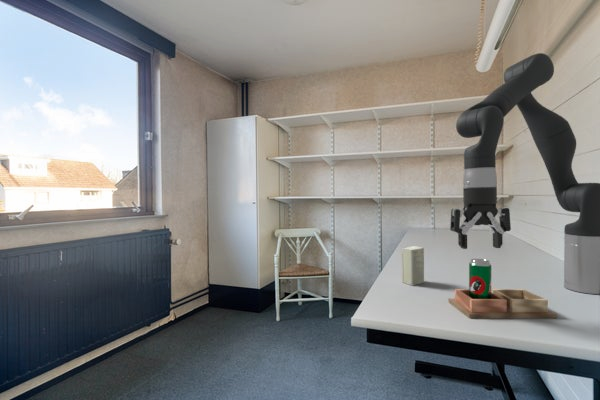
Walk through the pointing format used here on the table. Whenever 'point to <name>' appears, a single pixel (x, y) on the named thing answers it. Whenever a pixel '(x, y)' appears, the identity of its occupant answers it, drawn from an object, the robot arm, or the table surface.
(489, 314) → the can rack
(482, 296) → the soda can
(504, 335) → the table surface
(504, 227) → the robot arm
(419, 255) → the skincare box
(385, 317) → the table surface
